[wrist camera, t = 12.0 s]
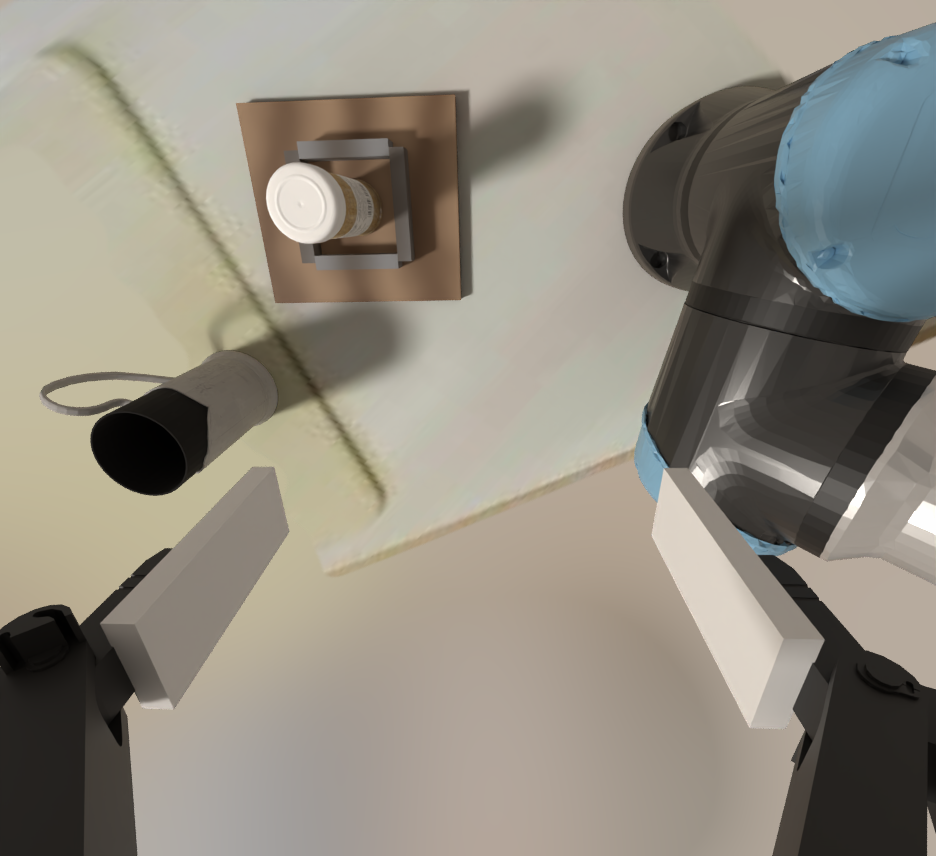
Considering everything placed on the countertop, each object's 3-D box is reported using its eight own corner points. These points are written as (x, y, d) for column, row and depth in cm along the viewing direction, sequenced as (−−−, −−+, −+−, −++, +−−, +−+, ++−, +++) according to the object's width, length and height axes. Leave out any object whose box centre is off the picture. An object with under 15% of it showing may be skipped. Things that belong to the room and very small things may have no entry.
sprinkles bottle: (331, 178, 39) (258, 158, 26) (383, 181, 39) (334, 163, 26) (335, 235, 41) (268, 241, 28) (385, 238, 41) (339, 246, 28)
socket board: (455, 97, 37) (452, 87, 34) (461, 298, 43) (459, 303, 41) (242, 106, 38) (222, 97, 35) (280, 301, 44) (266, 306, 42)
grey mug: (265, 438, 51) (183, 517, 37) (140, 384, 49) (5, 447, 35) (287, 373, 47) (206, 433, 34) (154, 311, 45) (9, 350, 32)
